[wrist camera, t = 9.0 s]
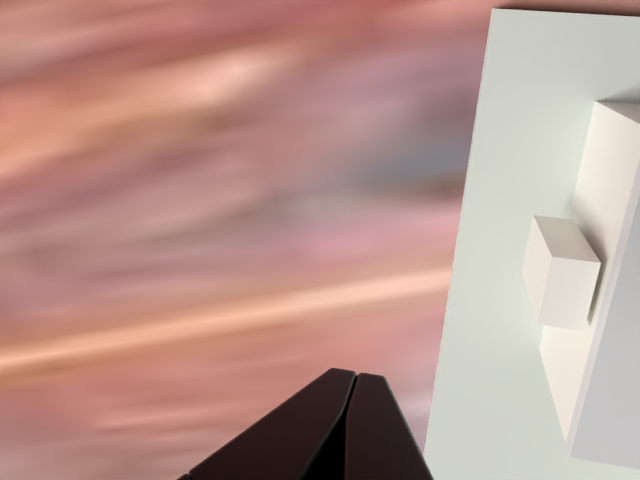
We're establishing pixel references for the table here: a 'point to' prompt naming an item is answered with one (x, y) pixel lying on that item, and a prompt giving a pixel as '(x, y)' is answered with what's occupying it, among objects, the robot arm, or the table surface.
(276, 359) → the table surface
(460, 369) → the board
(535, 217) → the white square box
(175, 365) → the table surface
